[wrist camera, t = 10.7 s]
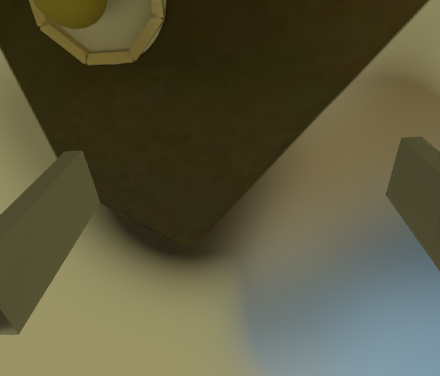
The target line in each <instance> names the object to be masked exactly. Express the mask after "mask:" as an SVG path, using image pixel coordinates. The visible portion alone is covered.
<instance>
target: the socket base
mask: <svg viewBox="0 0 440 376" xmlns="http://www.w3.org/2000/svg"><path fill="white" fill-rule="evenodd" d="M29 2H30V5H31V8H32V11H33V14H34V17H35V20H36V23H37V26H41V28H40V30H41V31H43V32H44V33H45V34H46V35H48V36H49V37H50V38H52V39H53V40H54V41H55V42H57V43H58V44H59V45H61V46H62V47H63V48H64V49H66V50H67V51H68V52H69V53H71V54H72V55H73V56H75V57H76V58H77V59H78V60H80V61H81V62H82V63H84V64H86V63H87V65H99V64H120V63H131V62H134V61H136V60H138V59H139V57H140V56H141V54H142V53H144V52H145V51H146V50H147V49H148V48H149V47H150V46H151V45H152V44H153V42H154V41H155V40H156V38H157V36H158V35H159V33H160V30H161V28H162V26H163V22H164V21H165V19H164V18H165V16H166V14H165V13H166V3H167V0H107V6H106V8H105V11H104V14H103V16H102V17H101V18H100V19H99V20H98V22H97V23H95V24H93V25H91V26H89V27H87V28H81V29H71V28H67V27H63V26H60V25H58V24H56V23H55V22H53V21H51V20H50V19H48V18H47V17H46V16H45V15H44V14H43V13H42V12H41V11H40V10H39V9H38V8H37V6H36V5H35V3H34V1H33V0H29Z"/></svg>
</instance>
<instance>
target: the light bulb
mask: <svg viewBox="0 0 440 376" xmlns="http://www.w3.org/2000/svg"><path fill="white" fill-rule="evenodd" d="M33 1H34V3H35V5H36V6H37V8H38V9H39V10H40V11H41V12H42V13H43V14H44V15H45V16H46V17H47V18H48V19H50V20H51V21H53V22H55V23H56V24H58V25H60V26H63V27H67V28H71V29H81V28H87V27H89V26H91V25H93V24H95V23H97V22H98V20H99V19H100V18H101V17H102V16H103V14H104V11H105V8H106V6H107V0H33Z"/></svg>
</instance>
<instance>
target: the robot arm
mask: <svg viewBox="0 0 440 376" xmlns="http://www.w3.org/2000/svg"><path fill="white" fill-rule="evenodd" d="M386 196H387V197H388V199H389V200H390V201H391V203H392V204H393V206H394V207H395V209H396V210H397V211H398V213H399V214H400V216H401V217H402V218H403V220H404V221H405V223H406V224H407V225H408V227H409V228H410V230H411V231H412V233H413V234H414V235H415V237H416V238H417V240H418V241H419V242H420V244H421V245H422V246H423V248H424V250H425V251H426V252H427V254H428V255H429V257H430V258H431V259H432V261H433V262H434V264H435V265H436V266H437V268H438V269H439V271H440V152H439V151H438V150H437V149H436V148H434V147H433V146H432V145H431V144H430V143H428V142H427V141H426V140H425V139H424V138H422V137H408V138H407V137H406V138H401V141H400V145H399V149H398V152H397V156H396V160H395V163H394V167H393V170H392V174H391V178H390V181H389V185H388V189H387V192H386ZM99 204H100V201H99V198H98V195H97V192H96V189H95V186H94V183H93V181H92V178H91V175H90V172H89V169H88V166H87V163H86V160H85V157H84V154H83V151H65V152H64V153H63V154H62V155H61V156H60V157H59V158H58V159H57V160H56V161H55V162H54V163H53V164H52V165H51V166H50V167H49V168H48V169H47V170H46V171H45V172H44V173H43V174H42V175H41V176H40V177H39V178H38V179H37V180H36V181H35V182H34V183H33V184H32V185H31V186H30V187H29V188H28V189H26V191H24V192H23V193H22V194H21V195H20V196H19V197H18V198H17V199H16V200H15V201H14V202H13V203H12V204H11V205H10V206H9V207H8V208H7V209H6V210H5V211H4V212H3V213H2V214H1V215H0V335H2V334H4V335H5V334H6V335H18V334H19V333H20V332H21V330H22V328H23V327H24V325H25V323H26V322H27V320H28V319H29V317H30V315H31V314H32V312H33V310H34V309H35V307H36V306H37V304H38V303H39V301H40V299H41V298H42V296H43V294H44V293H45V291H46V289H47V288H48V286H49V285H50V283H51V282H52V280H53V278H54V277H55V275H56V273H57V272H58V270H59V269H60V267H61V265H62V264H63V262H64V260H65V259H66V257H67V256H68V254H69V252H70V251H71V249H72V248H73V246H74V244H75V243H76V241H77V240H78V238H79V236H80V235H81V233H82V231H83V230H84V228H85V227H86V225H87V223H88V222H89V220H90V219H91V217H92V215H93V214H94V212H95V210H96V209H97V207H98V206H99Z"/></svg>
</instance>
